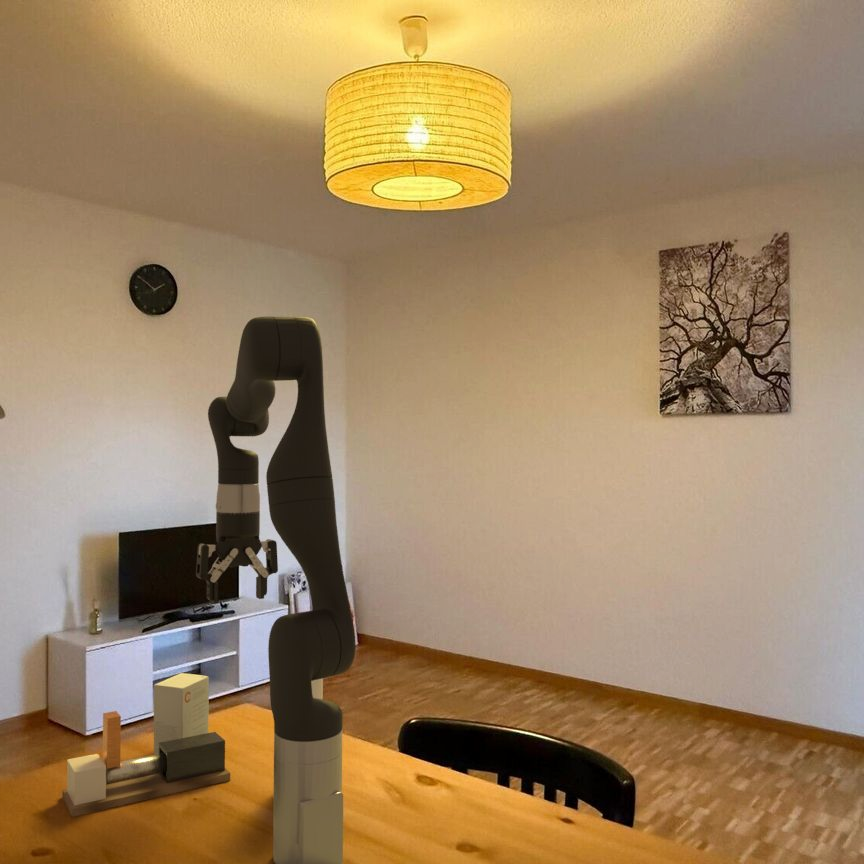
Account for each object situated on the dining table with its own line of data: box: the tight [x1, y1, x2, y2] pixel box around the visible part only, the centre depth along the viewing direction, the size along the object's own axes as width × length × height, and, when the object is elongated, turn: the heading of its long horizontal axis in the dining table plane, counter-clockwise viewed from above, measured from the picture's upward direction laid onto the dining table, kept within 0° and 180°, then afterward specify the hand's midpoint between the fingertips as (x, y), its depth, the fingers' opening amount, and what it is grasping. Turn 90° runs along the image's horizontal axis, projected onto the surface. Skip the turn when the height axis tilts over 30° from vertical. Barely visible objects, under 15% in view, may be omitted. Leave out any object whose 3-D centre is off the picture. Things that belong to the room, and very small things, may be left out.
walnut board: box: [61, 767, 231, 818], centre depth 134 cm, size 24×8×1 cm, turn 124°
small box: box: [153, 672, 210, 755], centre depth 150 cm, size 8×6×13 cm
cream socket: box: [66, 753, 106, 806], centre depth 129 cm, size 4×6×5 cm
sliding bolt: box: [102, 710, 166, 785], centre depth 132 cm, size 14×3×11 cm, turn 124°
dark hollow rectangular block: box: [158, 731, 226, 783], centre depth 138 cm, size 10×5×5 cm, turn 124°
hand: (237, 600), depth 146 cm, fingers open, 8 cm apart
